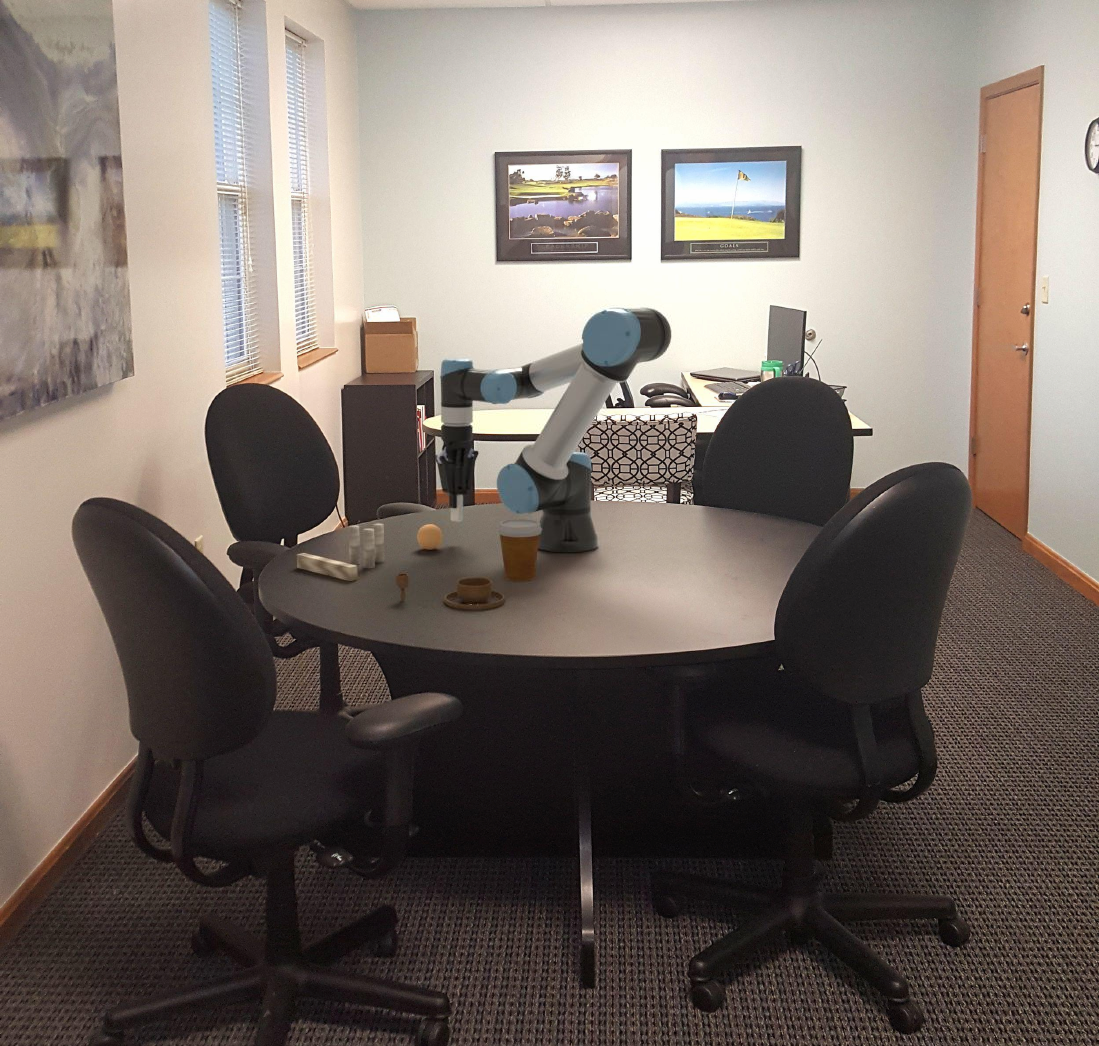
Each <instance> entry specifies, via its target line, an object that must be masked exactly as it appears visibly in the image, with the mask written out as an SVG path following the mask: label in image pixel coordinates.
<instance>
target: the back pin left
mask: <svg viewBox="0 0 1099 1046" xmlns="http://www.w3.org/2000/svg"><path fill="white" fill-rule="evenodd" d="M362 533H363V534H362V536H363V538H362V539H363V540H362V541H363V546H362V547H363V568H365V569H374V568H375V567H376V562H375V549H374V529H373V528H363V529H362Z"/></svg>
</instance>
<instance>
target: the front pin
mask: <svg viewBox="0 0 1099 1046" xmlns="http://www.w3.org/2000/svg"><path fill="white" fill-rule="evenodd" d="M372 529H374V549H375V563H378V564H379V563H384V562H385V540H384V539H385V538H384V537H385V536H384V535H385V533H384V531H385V530H384V523H373V524H372Z"/></svg>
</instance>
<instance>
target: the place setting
mask: <svg viewBox="0 0 1099 1046" xmlns="http://www.w3.org/2000/svg"><path fill="white" fill-rule="evenodd" d="M409 578H410V577H409V574H408V573H404V572H402V573H401V572H400V573H396V575H395V582H396V587H397V588H399V589H400V594H399V597H400V598H401V599H400V601H401V602H405V601H406V599H405V598H406V593H405V591H406V590H405V589H407V588H408V586H409ZM492 584H493V581H492V580H490V579H489V578H484V577H466V578H465V577H464V578H460V579H459V580H457V581H456V590H455V591H452V592H448V593H447V594H445V595H444V598H443V599H444V602H445V604H446V605H447V606H448V607H450V608H452V607H453V608H452V609H456V608H458V610H463V609H470V610H469V611H481V609H484V610H490V609H494V608H497V607H500V606H501V605H503V604H504V601H505V594H503V593H502V592H499V591H496V590H493V589H492V588H493V585H492ZM457 596H458V597H457ZM490 596H492V597H490ZM454 597H456V598H459V599H460V600H462V601H463V602H464V603H458V602H453V601H451V600H452V599H451V598H453V599H455V598H454ZM494 597H496V598H495V599H497V598H498V599H497V601H493V602H490V603H485V601H487V600H489V598H494ZM450 599H451V600H450ZM449 600H450V601H449ZM482 603H483V604H482ZM469 604H472V605H469ZM477 604H478V605H477ZM422 608H423V609H425V608H429V606H428V605H425V606H422ZM489 608H490V609H489Z"/></svg>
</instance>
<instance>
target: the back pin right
mask: <svg viewBox="0 0 1099 1046" xmlns="http://www.w3.org/2000/svg"><path fill="white" fill-rule="evenodd" d="M347 530H348V532H347V533H348V534H347V535H348V561H349V563H348V564H352V565H356V566H358V565H360V564H361V552H360V550H361V547H360V546H361V544H360V543H361V542H360V541H361V540H360V526H359V525H356V524H355V525H349V526H348V528H347Z"/></svg>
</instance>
